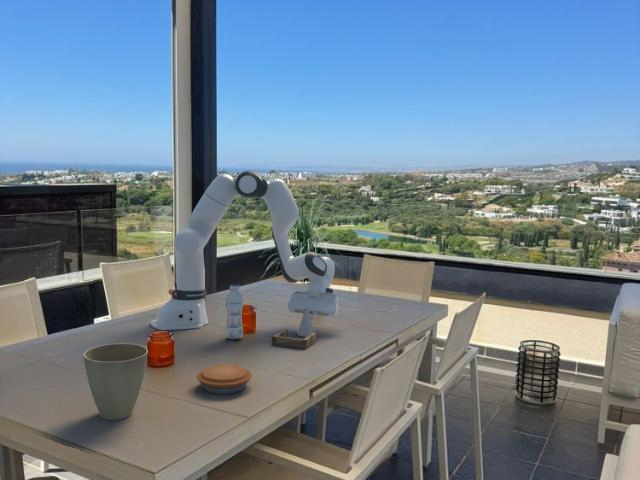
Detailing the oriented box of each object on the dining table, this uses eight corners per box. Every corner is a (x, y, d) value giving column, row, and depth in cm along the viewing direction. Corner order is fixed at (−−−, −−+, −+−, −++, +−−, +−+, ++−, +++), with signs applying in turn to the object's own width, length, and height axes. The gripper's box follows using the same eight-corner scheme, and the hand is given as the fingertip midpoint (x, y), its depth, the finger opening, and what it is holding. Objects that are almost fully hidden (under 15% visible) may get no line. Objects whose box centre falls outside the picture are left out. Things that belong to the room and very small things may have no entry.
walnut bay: (305, 349, 204) (305, 340, 203) (271, 344, 208) (271, 336, 208) (316, 340, 214) (316, 332, 214) (284, 336, 219) (284, 329, 218)
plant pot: (70, 420, 139) (69, 356, 138) (112, 399, 153) (112, 340, 152) (120, 431, 134) (120, 364, 132) (160, 408, 148) (160, 348, 146)
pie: (242, 400, 156) (242, 382, 155) (187, 394, 158) (187, 377, 158) (258, 380, 171) (258, 364, 170) (208, 376, 174) (208, 359, 173)
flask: (301, 338, 217) (302, 312, 216) (293, 333, 224) (294, 308, 223) (318, 336, 221) (319, 310, 220) (310, 331, 227) (310, 306, 226)
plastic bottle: (246, 339, 214) (247, 285, 212) (232, 342, 209) (233, 287, 207) (235, 335, 218) (236, 283, 216) (221, 338, 213) (222, 285, 211)
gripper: (291, 286, 233) (281, 315, 225) (339, 291, 227) (331, 321, 218) (294, 295, 238) (285, 324, 230) (342, 300, 231) (334, 329, 223)
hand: (308, 322), depth 224 cm, fingers closed, pressing on flask
